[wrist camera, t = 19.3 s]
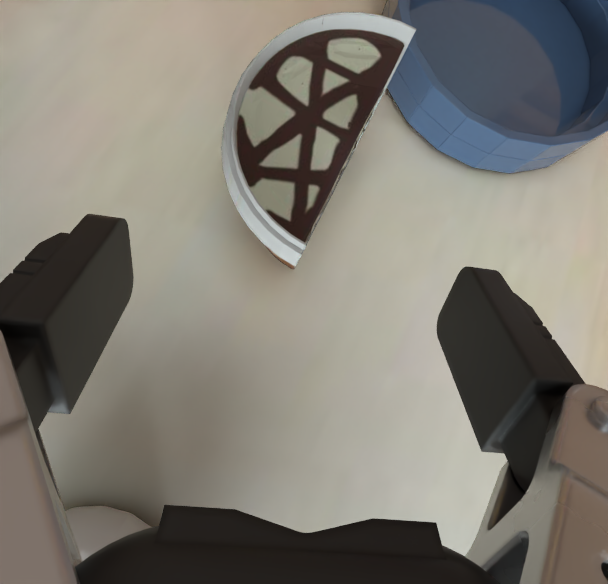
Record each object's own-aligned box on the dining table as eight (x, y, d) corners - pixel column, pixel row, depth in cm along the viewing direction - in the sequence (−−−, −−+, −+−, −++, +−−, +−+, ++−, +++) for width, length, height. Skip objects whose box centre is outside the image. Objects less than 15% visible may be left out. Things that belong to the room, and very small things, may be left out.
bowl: (367, 153, 28) (387, 117, 24) (387, -69, 31) (410, -139, 26) (601, 191, 30) (661, 165, 26) (603, -21, 33) (658, -79, 28)
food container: (284, 89, 28) (299, -49, 18) (363, 132, 28) (421, 19, 19) (196, 245, 26) (161, 185, 16) (283, 290, 26) (300, 257, 17)
